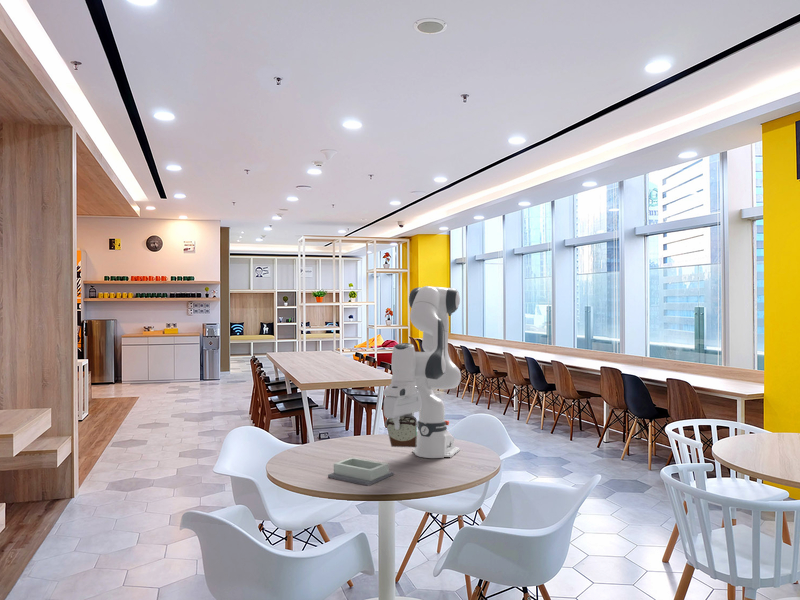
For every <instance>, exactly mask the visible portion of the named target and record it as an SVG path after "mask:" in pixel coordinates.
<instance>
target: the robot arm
mask: <svg viewBox="0 0 800 600" xmlns="http://www.w3.org/2000/svg"><path fill="white" fill-rule="evenodd" d="M460 302H461V297H460V293H459V290H457V289H456V288H453V287H442V286H431V285H430V286H429V285H425V286H423V287H415V288H413V289H412V290H410V292H409V296H408V303H409V307H410V312H409V313H410V316H409V320H410V322H411V324H412V325H413V327H415V328H416V329H417V330H418V331H420V332H422V342H421V347H422V350H423V351H416V350H415V346H414V344H412V343H408V342H402V343H397V344H395V345H394V346H393V348H392V355H391V372H392V376H391V379H390V381H391V382H390V384H389V385H388V386H386V388H384V389H383V396H384V399H383V415H384V417H385V418H386V419H388V418H391V419H393V422H394V424H395V429H397V430H398V429H401V424H400V423H399V420H400V416H404V415H412V416H414V417H415V413H418V420H417V422H418V427H417V447H413V448H412V453H413V454H414V455H415V456H417V457H420V458H424V459H441V458H443V459H444V457H450V458H452V457H454V456H455V455H456V454H457V453H459V451H461V449H460V447H458V446H456V445H455V436H453V435H452V434H451V433H450V432H449V430H448V429H447V426H449V425H450V421H449V420H445V412H446V411H445V410H446V409H445V408H446V407H445V403H444V401H443V399H441V398H439V397H438V396H437V395H436V394H435V393H434V390H451V389H456V388H457V387H458V386H459V385H460V383H461V380H462V372H461V370H460V368H459V367H458V366H457V365H456V364H455V363H454V362H453V360H452V358H451V357H450V354H449V347H448V345H449V329H450V328H449V327H450V322H449V320H450V319H449V318H450V317H451V316H452V315H453V313H455V312H456V311H457V310H458V309H459V306H460ZM455 453H456V454H455ZM454 454H455V455H454Z"/></svg>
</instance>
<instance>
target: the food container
mask: <svg viewBox="0 0 800 600" xmlns="http://www.w3.org/2000/svg"><path fill="white" fill-rule="evenodd" d="M399 423H400V424H401V429H398V430H397V429H395V424H394V422H393V419H391V418H386V420H385V422H384V426H385V427H386V430H387V433H388V439H389V442H390V446H391V447H393V448H415V447H417V432H418V420H417V418H416V416H415V415H414V416H412V415H404V416H400V420H399Z"/></svg>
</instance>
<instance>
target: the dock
mask: <svg viewBox="0 0 800 600" xmlns="http://www.w3.org/2000/svg"><path fill="white" fill-rule="evenodd" d="M389 466H390V465H389V463H386V462H381V461H375V460H369V459H364V458H358V457H353V456H352V457H350V458H349V457H348V458H346V459H343V460H340V461H337V462H335V463H333V472H332V473H329V474H327V477H328V478H329V477H330V479H333V478H334V479H335V480H339V481H344V482H349V483H353V484H357V485H363V486H366V485H367V486H366V487H369V486H371V485H373V484H376V483H378V482H380V481H383V480H385V479H386V478H389V476H390V477H391V476H393V475H394V471H390V469H389Z"/></svg>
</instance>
